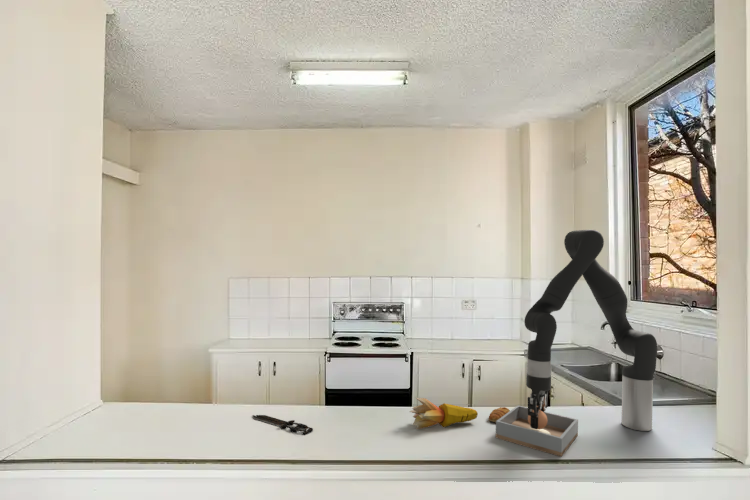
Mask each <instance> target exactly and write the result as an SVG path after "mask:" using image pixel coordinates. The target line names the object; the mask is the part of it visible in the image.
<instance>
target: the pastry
mask: <svg viewBox="0 0 750 500" xmlns="http://www.w3.org/2000/svg"><path fill="white" fill-rule="evenodd" d="M509 411H511V410H510V409H509V408H508V407H505V406H503V407H502V406H501V407H498V408H494V409H493V410H492V411H491V412H490V413H489V415H488V421H489V422H493V423H495V424H496V421H497V420H498V419H500V418H501V417H502V416H504V415H505V414H507V413H508V412H509Z"/></svg>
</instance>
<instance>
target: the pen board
mask: <svg viewBox="0 0 750 500" xmlns="http://www.w3.org/2000/svg"><path fill="white" fill-rule="evenodd" d="M512 425H516V426H520V427H523V428H527V429H531V430H535V431H538V432H542V433H546V434H550V435H554V436H557V437H560V436H561V435H562V434H563V433H564V432H565V431H566V430H565V429H561V428H557V427H553V426H550V425H546V426H545V427H544V428H543V429H533V428H531V427H530V424H529V422H528V420H526V419H522V418H518V419H517V420H516V421H514V422H513V423H512ZM578 435H579V431H578V432H577V434H576V435H575V436H574V437H573V439H572V440H571V441H570V442H569V444H568V445H567V446H566V447H565V449H564V450H563V451H562V453H561V452H558V451H554V450H551V449H547V448H544V447H540V446H537V445H533V444H530V443H526V442H523V441H519V440H516V439H512V438H509V437H505V436H502V435H498V434H496V433H495V438H496V439H500V440H502V441H506V442H510V443H512V444H517V445H521V446H524V447H527V448H530V449H533V450H537V451H539V452H540V451H541V452H544V453H546V454H547V453H548V454H551V455H555V456H558V457H563V455H564V454H565V453H566V451H567V450H568V449H569V447H571V445H572V444H573V442H574V441H575V440H576V438H577V437H579V436H578Z"/></svg>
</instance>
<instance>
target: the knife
mask: <svg viewBox="0 0 750 500" xmlns="http://www.w3.org/2000/svg"><path fill="white" fill-rule="evenodd" d="M251 416H252V418H253V419H254V420H257V421H260V422H264V423H266V424H270V425H273V426H276V427H280V429H281V430H284V429H285V430H286V429H289V432H292V433H295V434H297V433H298V432H302V435H303V436H306V435H308V434H310V433H312V432H313V431H314V428H313V427H309V426H308V425H307V424H304V423H300V422H299V423H298V422H295V420H294V419H292V420H288V421H286V420H284V419H283V420H282V419H279V418H276V417H273V416H269V415H266V414H256V415H254V414H253V415H251ZM293 425H296V426H293ZM302 428H303V429H302Z"/></svg>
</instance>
